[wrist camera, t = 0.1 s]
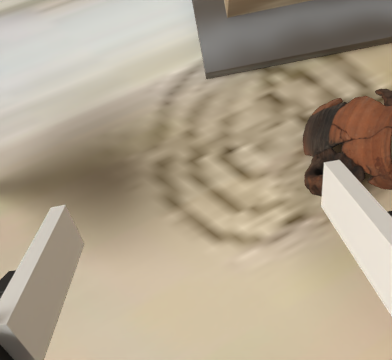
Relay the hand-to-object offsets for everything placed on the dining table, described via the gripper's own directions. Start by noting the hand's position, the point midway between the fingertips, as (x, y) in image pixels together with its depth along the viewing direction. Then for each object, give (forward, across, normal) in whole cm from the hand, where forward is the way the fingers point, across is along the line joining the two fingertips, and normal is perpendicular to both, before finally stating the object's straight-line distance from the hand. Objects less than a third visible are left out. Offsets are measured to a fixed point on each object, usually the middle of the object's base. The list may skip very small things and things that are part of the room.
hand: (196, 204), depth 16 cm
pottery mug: (+14, -14, +7) cm, 21 cm away
